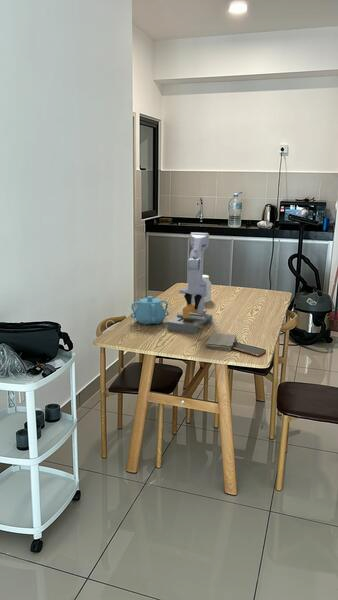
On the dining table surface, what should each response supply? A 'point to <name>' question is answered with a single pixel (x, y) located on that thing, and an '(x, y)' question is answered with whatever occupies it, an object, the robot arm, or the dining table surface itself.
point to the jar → (208, 297)
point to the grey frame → (188, 327)
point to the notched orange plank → (189, 310)
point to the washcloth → (221, 341)
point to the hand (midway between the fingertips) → (192, 308)
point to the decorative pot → (149, 311)
